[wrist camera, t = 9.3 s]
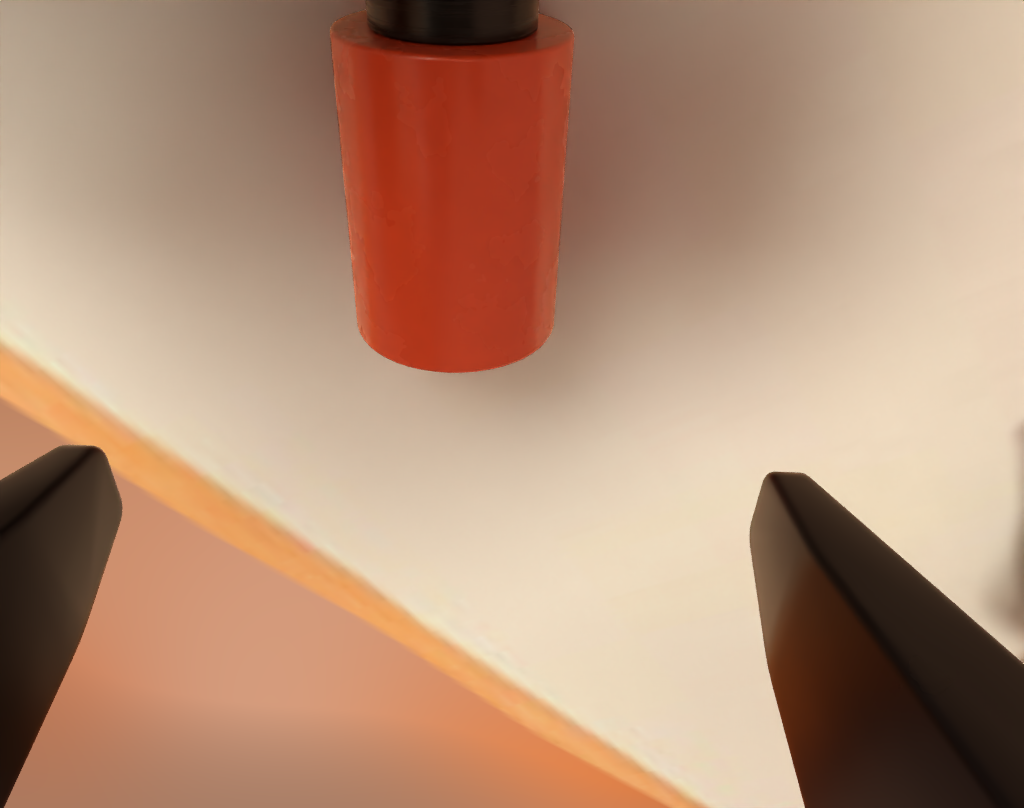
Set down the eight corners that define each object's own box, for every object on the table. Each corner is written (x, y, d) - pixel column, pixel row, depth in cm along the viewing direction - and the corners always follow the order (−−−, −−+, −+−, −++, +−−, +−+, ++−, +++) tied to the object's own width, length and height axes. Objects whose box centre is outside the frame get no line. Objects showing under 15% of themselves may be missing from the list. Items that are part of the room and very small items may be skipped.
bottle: (573, 291, 20) (524, 391, 17) (402, 263, 21) (322, 352, 18) (602, -53, 16) (544, -15, 12) (384, -69, 17) (273, -38, 13)
